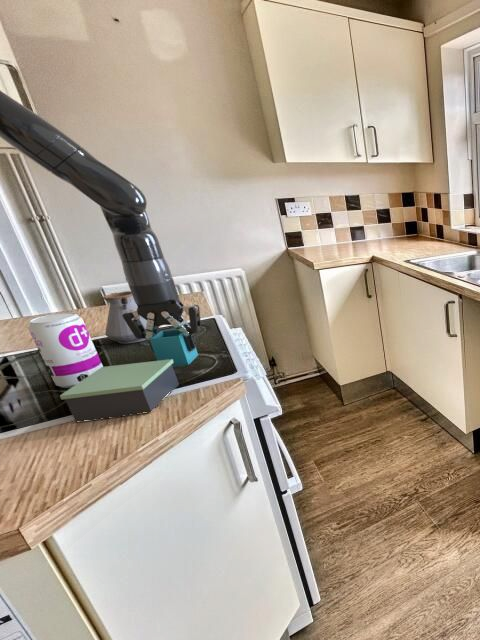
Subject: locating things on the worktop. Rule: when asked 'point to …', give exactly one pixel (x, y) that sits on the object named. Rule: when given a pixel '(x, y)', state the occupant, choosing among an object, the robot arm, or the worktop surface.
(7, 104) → the robot arm
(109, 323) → the coffee pot
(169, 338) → the teal container
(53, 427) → the worktop surface
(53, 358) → the supplement can
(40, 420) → the worktop surface
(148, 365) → the green and grey box
